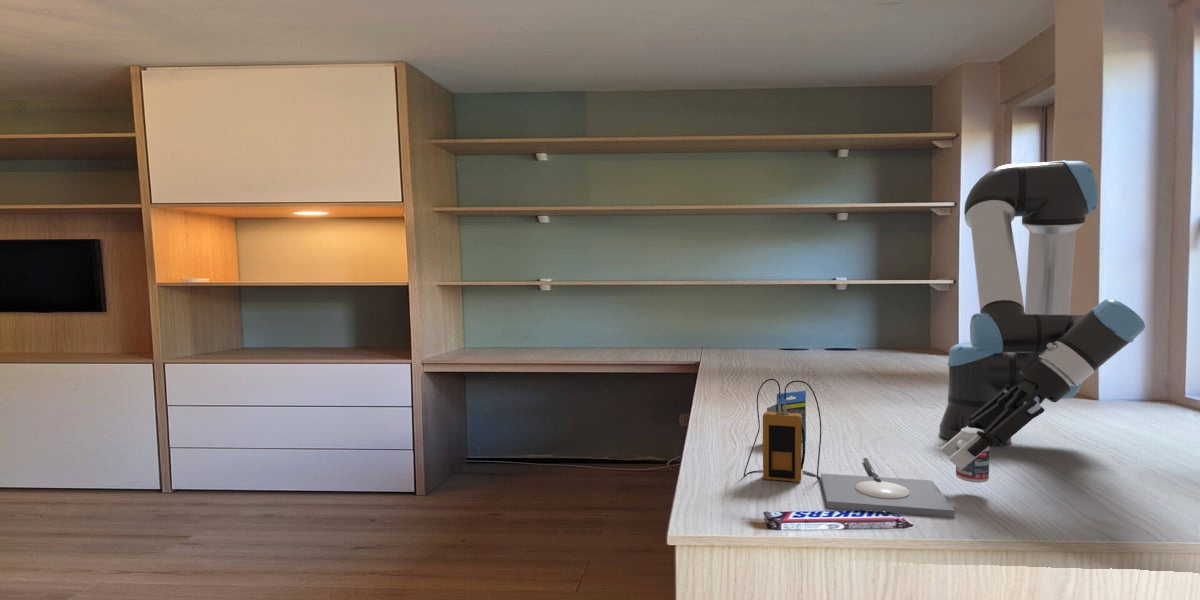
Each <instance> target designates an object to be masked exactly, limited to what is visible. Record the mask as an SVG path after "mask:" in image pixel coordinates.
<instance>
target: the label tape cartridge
mask: <svg viewBox="0 0 1200 600" xmlns="http://www.w3.org/2000/svg"><path fill="white" fill-rule="evenodd" d="M791 397H795V398H793V399H792V398H791ZM806 397H807V391H806V390H800V391H799V390H798V391H789V392H786V406H787V413H799V414H801V415H802V423H803V428H804V431H805V442H806V441H807V429H806V428H807V421H806V420H807V419H806V418H807V416H806V415H807V414H806V412H807V411H806V407H807V406H806V402H807V401H806V400H807V399H806ZM787 398H791V399H787ZM780 399H781V413H784V399H785V392H782V393H781V392H780ZM778 406H779V393H776V404H774V405H771V406H769V407H767V408H766V412H778ZM802 443H803V438H802Z"/></svg>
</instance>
